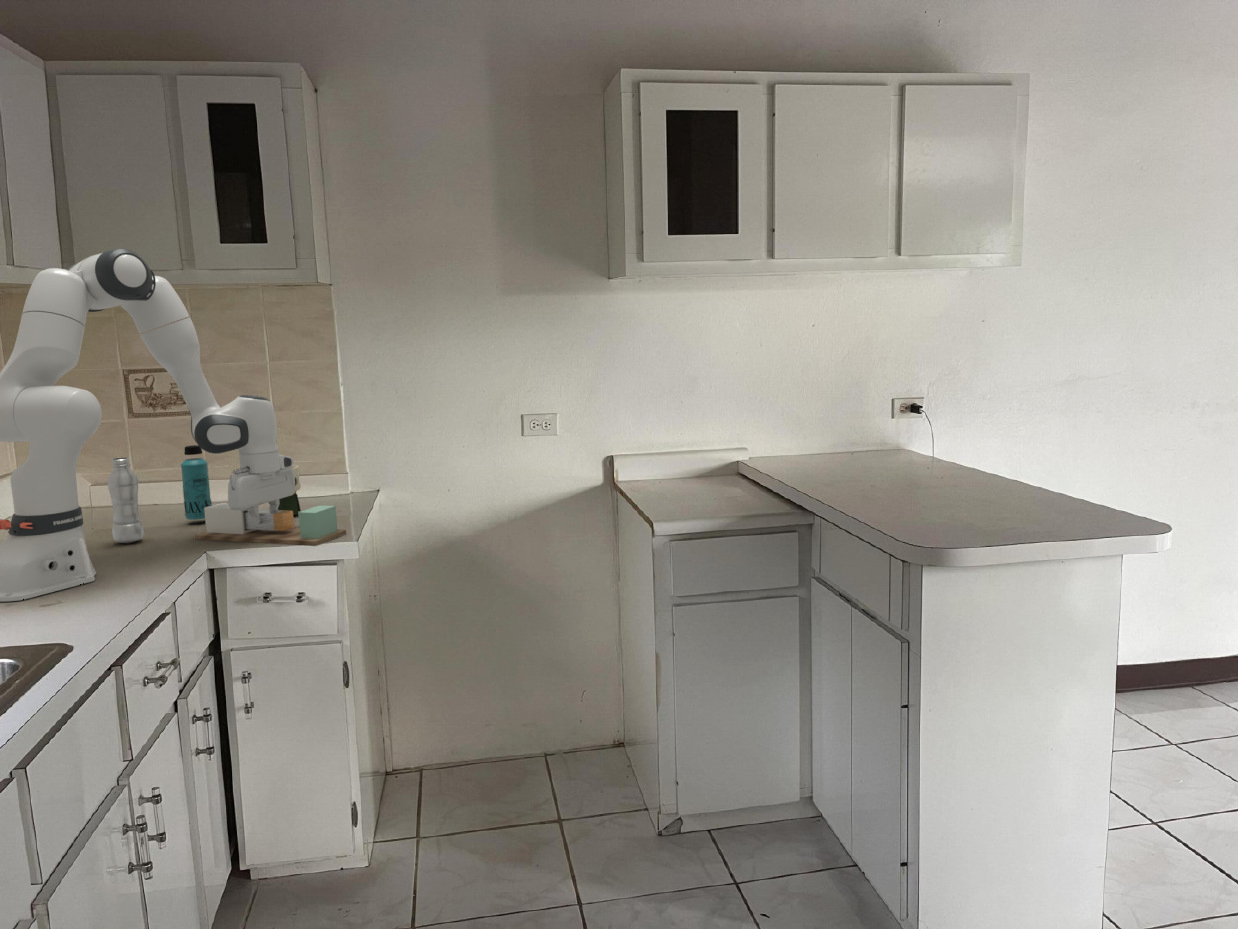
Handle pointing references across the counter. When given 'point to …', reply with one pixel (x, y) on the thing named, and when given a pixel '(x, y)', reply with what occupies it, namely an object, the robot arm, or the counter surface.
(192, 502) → the beverage bottle
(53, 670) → the counter surface
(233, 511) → the sleeve
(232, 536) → the baseboard
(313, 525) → the socket
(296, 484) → the character mug
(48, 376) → the robot arm
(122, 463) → the plastic bottle
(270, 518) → the rectangular peg
